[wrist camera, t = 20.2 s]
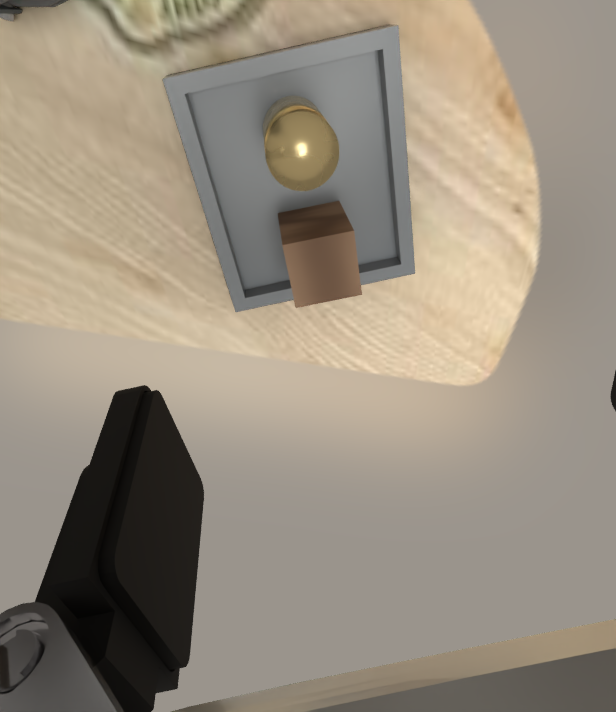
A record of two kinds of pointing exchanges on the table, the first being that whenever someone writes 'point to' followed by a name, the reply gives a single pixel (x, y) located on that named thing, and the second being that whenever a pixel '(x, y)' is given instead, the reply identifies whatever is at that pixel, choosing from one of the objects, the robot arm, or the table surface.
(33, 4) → the lantern
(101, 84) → the table surface
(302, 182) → the brass cylinder
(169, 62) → the table surface
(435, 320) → the table surface
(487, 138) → the table surface
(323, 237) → the walnut block
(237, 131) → the tray
